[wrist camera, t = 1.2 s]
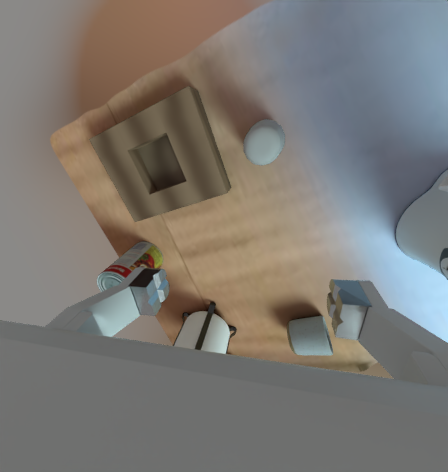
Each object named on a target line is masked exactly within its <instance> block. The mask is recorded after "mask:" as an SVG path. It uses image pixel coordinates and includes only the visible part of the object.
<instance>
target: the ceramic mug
mask: <svg viewBox="0 0 448 472" xmlns="http://www.w3.org/2000/svg"><path fill="white" fill-rule="evenodd" d="M287 335H288V340H289V344H290V347H291V349H292V351H293V352H294V353H295V354H298V355H333V349H332V344H331V340H330V336H329V332H328V329H327V326H326V322H325V320H324V317H323V316H316V317H309V318H302V319H295V320H291V321H289V322H288V324H287Z"/></svg>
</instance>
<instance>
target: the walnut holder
mask: <svg viewBox="0 0 448 472" xmlns="http://www.w3.org/2000/svg"><path fill="white" fill-rule="evenodd" d="M89 140H90V142H91V144H92V146H93V147H94V149H95V151H96V153H97V155H98V156H99V158H100V160H101V162H102V164H103V165H104V167H105V169H106V171H107V173H108V174H109V176H110V178H111V180H112V182H113V183H114V185H115V187H116V189H117V191H118V192H119V194H120V196H121V198H122V200H123V201H124V203H125V205H126V207H127V209H128V210H129V212H130V214H131V216H132V218H133V219H134V221H135V222H137V221H140V220H143V219H146V218H150V217H153V216H156V215H159V214H162V213H166V212H169V211H172V210H175V209H178V208H181V207H185V206H188V205H191V204H194V203H197V202H201V201H204V200H207V199H210V198H213V197H216V196H220V195H223V194H226V193H227V192H228V191H229V190H230V188H231V185H230V182H229V180H228V177H227V174H226V171H225V168H224V165H223V162H222V159H221V156H220V153H219V150H218V148H217V145H216V142H215V139H214V136H213V133H212V130H211V127H210V124H209V121H208V119H207V116H206V113H205V110H204V107H203V104H202V101H201V98H200V95H199V92H198V90H196V89H194V88H192V87H190V86H188V87H186V88H184V89H182V90H180V91H178V92H176V93H175V94H173V95H171V96H169V97H167V98H165V99H163V100H162V101H160V102H158V103H156V104H154V105H152V106H150V107H149V108H147V109H145V110H143V111H141V112H139V113H137V114H136V115H134V116H132V117H130V118H128V119H126V120H124V121H122V122H121V123H119V124H117V125H115V126H113V127H111V128H109V129H108V130H106V131H104V132H102V133H100V134H98V135H96V136H95V137H93V138H91V139H89Z"/></svg>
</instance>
